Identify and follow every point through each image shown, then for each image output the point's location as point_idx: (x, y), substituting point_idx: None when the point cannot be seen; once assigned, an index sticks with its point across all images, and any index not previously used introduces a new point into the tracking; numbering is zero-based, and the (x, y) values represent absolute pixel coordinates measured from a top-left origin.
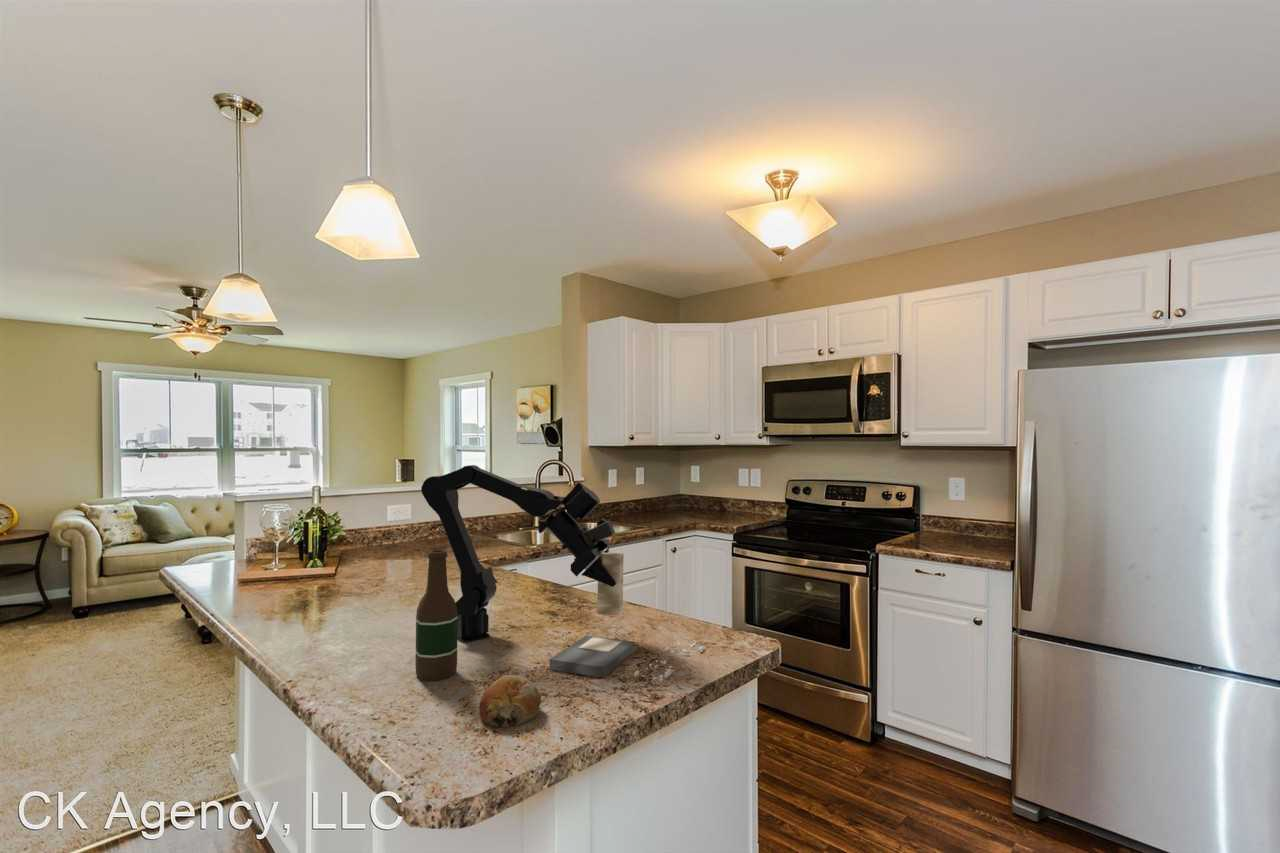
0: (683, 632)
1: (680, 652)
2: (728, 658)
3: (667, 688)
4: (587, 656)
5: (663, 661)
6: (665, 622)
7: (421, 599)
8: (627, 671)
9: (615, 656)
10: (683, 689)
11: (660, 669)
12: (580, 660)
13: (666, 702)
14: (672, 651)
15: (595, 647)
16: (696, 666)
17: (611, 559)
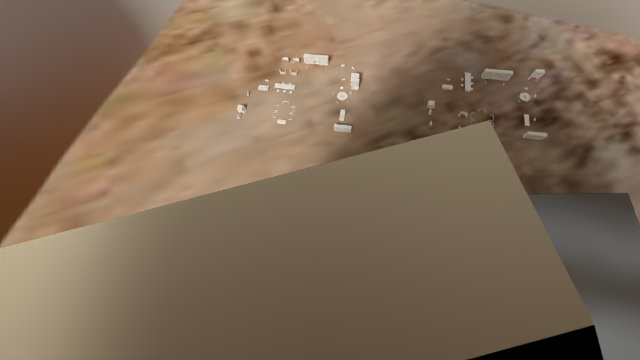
0: (185, 138)
1: (341, 98)
2: (337, 7)
3: (559, 57)
4: (586, 282)
5: (434, 105)
6: (99, 215)
7: None
8: (526, 165)
9: (533, 199)
10: (544, 31)
11: (469, 102)
12: (633, 287)
13: (622, 38)
14: (342, 116)
15: None
16: (412, 45)
17: (549, 350)
